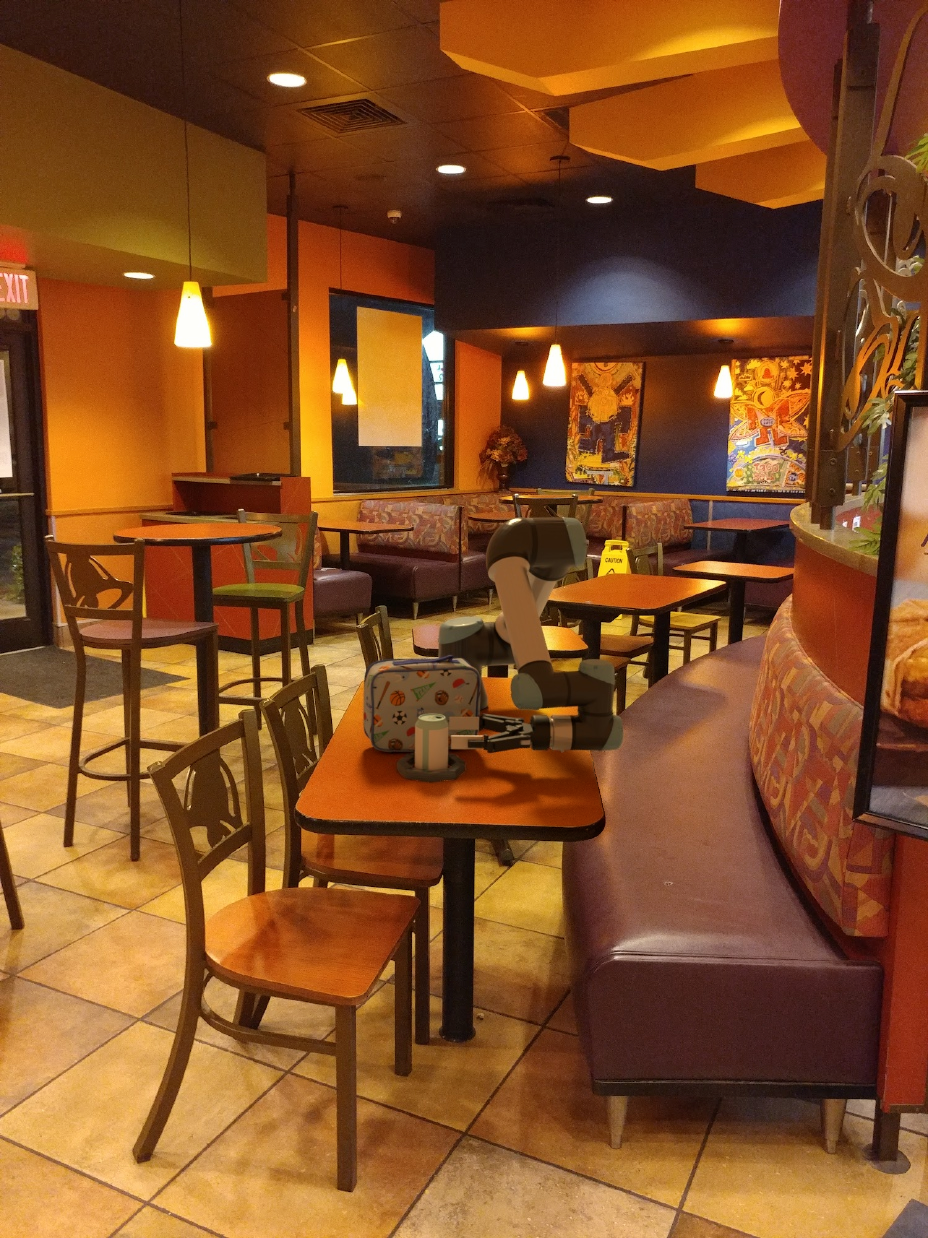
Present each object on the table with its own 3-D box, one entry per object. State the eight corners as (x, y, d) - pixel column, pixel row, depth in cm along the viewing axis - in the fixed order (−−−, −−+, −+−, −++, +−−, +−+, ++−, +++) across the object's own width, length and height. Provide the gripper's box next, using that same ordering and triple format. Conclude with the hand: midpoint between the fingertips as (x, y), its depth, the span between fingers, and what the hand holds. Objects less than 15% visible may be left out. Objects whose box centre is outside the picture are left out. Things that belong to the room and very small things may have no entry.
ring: (415, 757, 215) (415, 748, 214) (472, 765, 210) (472, 756, 210) (388, 776, 202) (388, 767, 202) (448, 785, 197) (448, 776, 197)
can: (422, 763, 211) (423, 710, 208) (452, 768, 208) (453, 714, 206) (409, 773, 204) (409, 719, 202) (439, 778, 202) (440, 723, 199)
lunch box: (474, 737, 230) (476, 647, 226) (487, 750, 221) (489, 656, 216) (360, 744, 223) (360, 651, 219) (368, 758, 213) (368, 662, 209)
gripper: (557, 769, 194) (451, 768, 193) (541, 732, 218) (448, 731, 217) (558, 733, 193) (452, 732, 192) (542, 700, 217) (448, 699, 216)
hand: (450, 732), depth 205 cm, fingers open, 13 cm apart
